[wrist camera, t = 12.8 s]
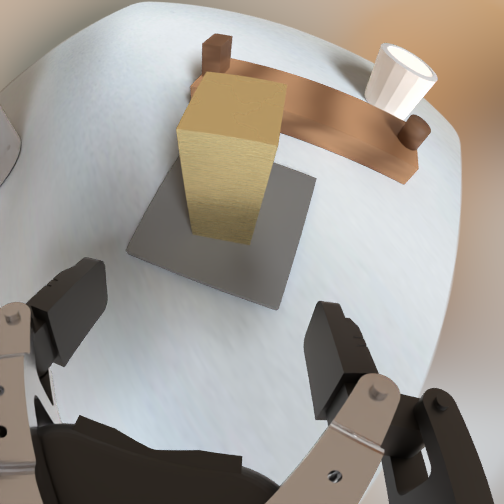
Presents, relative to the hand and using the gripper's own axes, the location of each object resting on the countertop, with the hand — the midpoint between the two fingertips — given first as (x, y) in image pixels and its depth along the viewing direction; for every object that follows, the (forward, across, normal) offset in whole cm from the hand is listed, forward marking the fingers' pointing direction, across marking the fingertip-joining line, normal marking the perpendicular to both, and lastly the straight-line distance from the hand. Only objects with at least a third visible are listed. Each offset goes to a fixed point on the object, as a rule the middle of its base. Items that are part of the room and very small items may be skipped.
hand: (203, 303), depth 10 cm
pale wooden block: (+9, 0, -1) cm, 9 cm away
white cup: (+23, -14, -14) cm, 31 cm away
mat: (+10, 0, 0) cm, 10 cm away
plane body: (+18, -5, -8) cm, 20 cm away
